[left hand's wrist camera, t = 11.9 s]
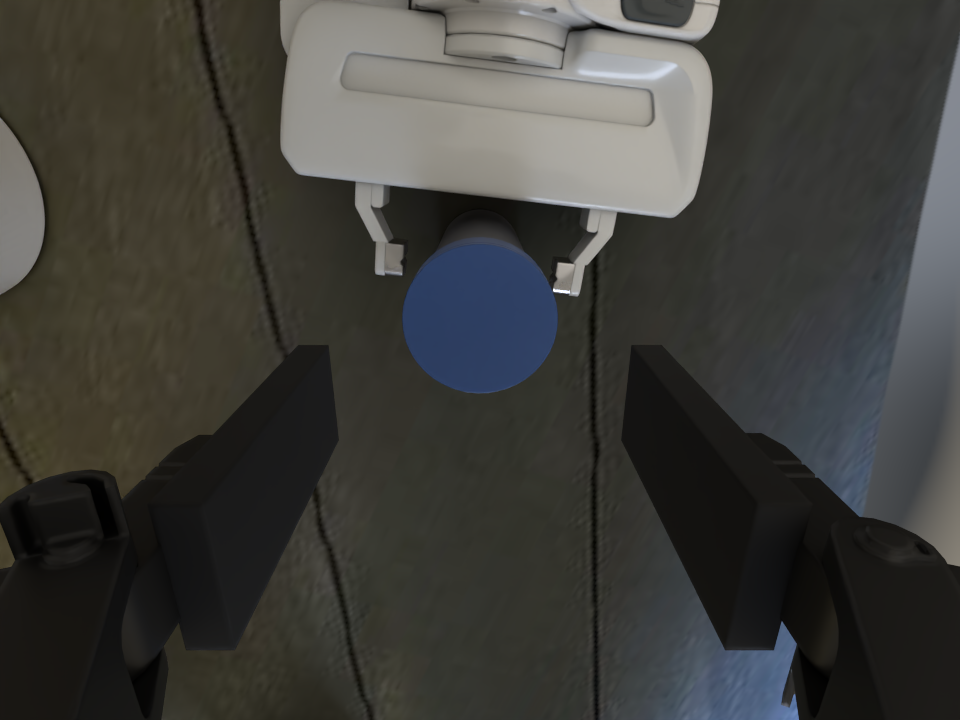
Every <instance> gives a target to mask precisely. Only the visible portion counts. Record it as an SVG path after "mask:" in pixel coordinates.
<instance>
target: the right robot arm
mask: <svg viewBox="0 0 960 720" xmlns="http://www.w3.org/2000/svg"><path fill="white" fill-rule="evenodd" d="M719 4H720V0H412V2H410V0H280V33H281V41H282V46H283V49H284V51H285V53H286V55H287V57H288V58H287V64H286V71H285V79H284V87H283V97H282V110H281V130H280V145H281V151H282V153H283V155H284V157H285V158H286V160H287V161H288V163H289V164H290V165H291V167H292V168H293V169H294V171H295V172H296V173H297V174H300V175H306V176H314V177H323V178H331V179H340V180H349V181H356V189H355V206H356V208H357V210H358V212H359V214H360V216H361V218H362V220H363V222H364V224H365V226H366V228H367V229H368V231H369V233H370V235H371V237H372V239H373V241H375V242H376V255H375V273H376V274H378V275H387V276H398V277H403V276H404V274H405V273H406V267H407V259H406V258H405V255H406V254H407V252H408V240H403V239H396V238H394V237H393V235H392V233H391V231H390V229H389V227H388V224H387V222H386V220H385V218H384V216H383V214H382V211H381V209H380V208H381V207H383V206H385V205H386V204H388V203H389V197H390V185H391V186H400V187H409V188H417V189H426V190H434V191H443V192H451V193H460V194H469V195H477V196H486V197H494V198H503V199H511V200H520V201H529V202H537V203H546V204H554V205H563V206H571V207H580V208H582V211H581V217H580V223H579V225H580V226H581V227H582V228H584V229H585V230H587V232H586V233H585V235H584V236H583V237H582V239H581V240H580V241H579V243H578V244H577V245H576V247H575V248H574V249H573V250H572V252H571V253H570V254H569V256H568V258H564V257H553V260H552V266H551V269H552V271H553V273H552V274H551V276H550V279H549V285H550V287H551V289H552V292H553V294H560V295H569V296H578V295H579V293H580V289H581V283H582V278H583V272H584V267H585V265H588V264H589V262H590V261H591V260H592V259H593V258H594V257H595V255H596V254H597V253H598V252H599V251H600V249H601V248H602V247H603V246H604V245H605V243H606V242H607V241H608V240H609V239H610V237H611V236H612V235H613V230H614V225H615V220H616V215H617V212H623V213H631V214H640V215H649V216H657V217H666V218H673V217H675V216H676V215H678V214H679V213H680V212H681V211H682V210H683V209H684V208H685V207H686V206H687V205H688V204H689V203H690V202H691V201H692V200H693V198H694V196H695V194H696V191H697V187H698V184H699V180H700V175H701V171H702V166H703V161H704V156H705V150H706V145H707V138H708V131H709V124H710V115H711V106H712V77H711V72H710V69H709V66H708V63H707V61H706V60H705V58H704V56H703V55H702V54H701V53H700V52H699V51H698V50H697V49H696V48H694V47H693V46H692V45H693V44H695V43H696V42H698V41H699V40H700V39H702V38H703V37H704V36H705V35H706V34H707V33H708V32H709V31H710V30H711V28H712V26H713V24H714V22H715V19H716V16H717V12H718V7H719ZM44 229H45V213H44V204H43V198H42V194H41V190H40V186H39V183H38V180H37V177H36V174H35V172H34V169H33V167H32V165H31V163H30V161H29V159H28V157H27V155H26V153H25V151H24V149H23V148H22V146H21V144H20V143H19V141H18V140H17V138H16V137H15V135H14V134H13V133H12V131H11V130H10V129H9V127H8V126H7V125H6V124H5V122H4V121H3V120H2V119H1V118H0V295H1V294H2V293H4V292H6V291H7V290H9V289H11V288H12V287H14V286H15V285H16V284H18V283H19V282H20V281H21V280H22V279H23V278H24V277H25V276H26V275H27V274H28V273H29V271H30V270H31V269H32V267H33V265H34V264H35V262H36V260H37V258H38V256H39V253H40V250H41V247H42V243H43V238H44Z"/></svg>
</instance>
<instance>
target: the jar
mask: <svg viewBox="0 0 960 720" xmlns="http://www.w3.org/2000/svg"><path fill="white" fill-rule="evenodd" d="M473 237H486V238H494V239H498V240H502V241H505V242H507V243H510V244H512V245H514V246H516V247H518V248H519V249H521V250H522V251H524V250H523V248H522V245H521V243H520V241H519V239H518V237H517V234H516V232H515V230H514V229H513V227H512V226H511V224H510V223H509V222H508V221H507V220H506V219H505V218H504V217H502V216H501V215H499V214H497V213H495V212H493V211H489V210H483V209H476V210H471V211H467V212H465V213H463V214H461V215H459V216H458V217H456V218H455V219H454V220H453V221H452V222H451V223H450V224H449V226H448V227H447V228H446V230H445V232H444V234H443V237H442V239H441V241H440V243H439V245H438V248H437V250H436V251H438V250H439V249H441V248H442V247H444V246H446V245H448V244H450V243H452V242H455V241H458V240H462V239H467V238H473Z"/></svg>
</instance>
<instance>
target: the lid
mask: <svg viewBox="0 0 960 720" xmlns="http://www.w3.org/2000/svg"><path fill="white" fill-rule="evenodd" d="M402 323H403V331H404V336H405V340H406V342H407V345H408V348H409V350H410V352H411V354H412V355H413V357H414V359H415V360H416V361H417V363H418V364H419V365H420V366H421V367H422V369H423V370H424V371H425V372H426V373H428V374H429V375H430V376H431V377H432V378H434V379H435V380H437V381H439V382H440V383H442V384H444V385H446V386H448V387H451V388H453V389H456V390H460V391H464V392H471V393H489V392H496V391H500V390H504V389H507V388H509V387H512V386H514V385H516V384H518V383H520V382H522V381H523V380H525V379H526V378H527V377H529V376H530V375H531V374H532V373H533V372H535V371H536V370H537V369H538V368H539V366H540V365H541V364H542V363H543V362H544V360H545V359H546V357H547V355H548V354H549V352H550V350H551V348H552V345H553V343H554V339H555V336H556V331H557V325H558V313H557V305H556V301H555V297H554V294H553V292H552V289H551V287H550V285H549V283H548V281H547V279H546V277H545V276H544V274H543V272H542V270H541V269H540V268H539V266H538V265H537V264H536V262H535V261H534V260H533V259H532V258H531V257H530V256H529V255H528V254H526V253H525V252H524V251H522V250H521V249H519V248H518V247H516V246H514V245H512V244H510V243H507V242H505V241H502V240H498V239H494V238H486V237H473V238H467V239H462V240H458V241H455V242H452V243H450V244H448V245H446V246H444V247H442V248H441V249H439V250H438V251H436V252H435V253H434V254H433V255H431V256H430V257H429V258H428V259H427V260H426V261H425V262H424V264H423V265H422V266H421V268H420V269H419V270H418V272H417V274H416V276H415V277H414V279H413V281H412V283H411V285H410V287H409V289H408V291H407V294H406V297H405V300H404V306H403V314H402Z"/></svg>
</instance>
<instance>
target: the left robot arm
mask: <svg viewBox="0 0 960 720" xmlns="http://www.w3.org/2000/svg"><path fill="white" fill-rule="evenodd" d="M338 440H339V438H338V429H337V420H336V411H335V401H334V392H333V383H332V374H331V365H330V355H329V346H328V345H298V346H297V347H296V348H295V349H294V350H293V351H292V352H291V354H290V355H289V356H288V357H287V358H286V359H285V360H284V361H283V362H282V363H281V364H280V365H279V366H278V367H277V368H276V369H275V370H274V371H273V372H272V373H271V375H270V376H269V377H268V378H267V379H266V380H265V381H264V382H263V383H262V384H261V385H260V386H259V387H258V388H257V389H256V390H255V391H254V392H253V393H252V394H251V396H250V397H249V398H248V399H247V400H246V401H245V402H244V403H243V404H242V405H241V406H240V407H239V408H238V409H237V410H236V411H235V412H234V413H233V414H232V415H231V417H230V418H229V419H228V420H227V421H226V422H225V423H224V424H223V425H222V426H221V427H220V428H219V429H218V430H217V431H216V432H215V433H214V434H213V435H198V436H196V437H194V438H193V439H191V440H189V441H187V442H185V443H184V444H182V445H180V446H178V447H176V448H175V449H174V450H173V451H172V452H171V453H169V454H168V455H167V456H166V457H165V458H164V459H163V460H162V461H161V462H160V463H159V467H155V468H154V469H153V470H152V471H151V472H150V473H149V474H148V475H147V476H146V479H145V480H141V481H140V482H139V483H138V484H137V485H136V486H135V487H134V488H133V489H132V490H131V491H130V492H129V493H128V494H127V495H126V496H125V497H124V498H123V499H122V500H121V497H120V493H119V490H118V486H117V483H116V479H115V477H114V476H112V475H111V474H109V473H108V472H106V471H98V470H82V471H72V472H67V473H63V474H59V475H55V476H51V477H48V478H45V479H43V480H40V481H38V482H35V483H33V484H30V485H28V486H26V487H24V488H22V489H20V490H19V491H17V492H15V493H14V494H12V495H10V496H8V497H7V498H6V499H5V500H4V501H3V502H2V503H1V504H0V523H1V525H2V528H3V530H4V533H5V535H6V538H7V540H8V543H9V545H10V548H11V551H12V553H13V556H14V558H15V562H14V563H13V565H12V567H8V568H3V569H0V720H161V717H162V710H163V703H164V696H165V689H166V683H167V676H168V663H167V656H166V653H165V649H164V645H165V643H166V641H167V640H168V638H169V637H170V635H171V634H172V632H173V631H174V629H175V628H176V626H177V624H178V623H179V625H180V629H181V633H182V636H183V640H184V644H185V647H186V650H235V649H236V647H237V645H238V643H239V641H240V639H241V637H242V635H243V633H244V630H245V628H246V626H247V624H248V622H249V620H250V618H251V616H252V614H253V612H254V610H255V608H256V606H257V604H258V602H259V600H260V598H261V596H262V594H263V592H264V590H265V588H266V586H267V584H268V582H269V580H270V578H271V576H272V574H273V572H274V570H275V568H276V566H277V564H278V562H279V560H280V558H281V556H282V554H283V552H284V550H285V548H286V546H287V544H288V542H289V540H290V538H291V535H292V533H293V531H294V529H295V527H296V525H297V523H298V521H299V519H300V517H301V515H302V513H303V511H304V509H305V507H306V505H307V503H308V501H309V499H310V497H311V495H312V493H313V491H314V489H315V487H316V485H317V483H318V481H319V479H320V477H321V475H322V473H323V471H324V469H325V467H326V465H327V463H328V461H329V459H330V457H331V455H332V453H333V451H334V449H335V447H336V445H337V443H338ZM621 441H622V443H623V445H624V447H625V449H626V451H627V453H628V455H629V457H630V459H631V461H632V463H633V465H634V467H635V469H636V471H637V473H638V475H639V477H640V479H641V481H642V483H643V485H644V487H645V489H646V491H647V493H648V495H649V497H650V499H651V501H652V503H653V505H654V507H655V509H656V511H657V513H658V515H659V517H660V519H661V521H662V523H663V525H664V527H665V529H666V531H667V533H668V535H669V538H670V540H671V542H672V544H673V546H674V548H675V550H676V552H677V554H678V556H679V558H680V560H681V562H682V564H683V566H684V568H685V570H686V572H687V574H688V576H689V578H690V580H691V582H692V584H693V586H694V588H695V590H696V592H697V594H698V596H699V598H700V600H701V602H702V604H703V606H704V608H705V610H706V612H707V614H708V616H709V618H710V620H711V622H712V624H713V626H714V628H715V630H716V633H717V635H718V637H719V639H720V641H721V643H722V645H723V647H724V649H725V650H774V647H775V644H776V640H777V636H778V633H779V629H780V625H781V621H782V622H783V623H784V625H785V626H786V628H787V629H788V631H789V632H790V634H791V635H792V637H793V639H794V640H795V642H796V643H797V646H796V649H795V653H794V656H793V660H792V663H791V667H790V670H789V674H788V677H787V681H786V684H785V688H784V691H783V697H782V703H781V705H783V706H786V707H789V708H790V704H791V701H792V698H793V695H794V694H795V695H796V702H797V709H798V715H799V720H960V567H959V566H954V565H950V564H947V562H946V561H945V559H944V558H943V557H942V556H941V554H940V553H939V552H938V551H937V550H936V549H935V548H934V546H932V545H931V544H929V543H928V542H926V541H925V540H923V539H922V538H920V537H919V536H918V535H916V534H914V533H912V532H910V531H908V530H905V529H903V528H901V527H899V526H897V525H894V524H891V523H887V522H884V521H881V520H877V519H874V518H865V517H859V516H858V515H857V514H856V513H855V512H854V511H853V510H852V509H851V508H849V507H848V506H847V505H846V504H845V503H844V502H843V501H842V500H841V499H840V498H839V497H838V496H837V495H836V494H835V493H834V492H833V491H832V490H831V489H830V488H829V487H827V486H826V485H825V484H824V483H823V482H822V481H821V480H820V479H819V478H815V474H814V473H813V472H812V471H811V470H810V469H809V468H808V467H807V466H806V465H802V464H801V461H800V460H799V459H798V458H797V457H796V456H795V455H794V454H793V453H792V452H791V451H790V450H789V449H788V448H787V447H786V446H784V445H782V444H780V443H778V442H777V441H775V440H773V439H771V438H769V437H767V436H766V435H764V434H762V433H745V432H744V431H743V430H742V429H741V428H740V427H739V426H738V425H737V424H736V423H735V422H734V421H733V420H732V419H731V418H730V417H729V415H728V414H727V413H726V412H725V411H724V410H723V409H722V408H721V407H720V406H719V405H718V404H717V403H716V402H715V401H714V400H713V399H712V398H711V397H710V396H709V394H708V393H707V392H706V391H705V390H704V389H703V388H702V387H701V386H700V385H699V384H698V383H697V382H696V381H695V380H694V379H693V378H692V377H691V376H690V375H689V373H688V372H687V371H686V370H685V369H684V368H683V367H682V366H681V365H680V364H679V363H678V362H677V361H676V360H675V359H674V358H673V357H672V356H671V355H670V354H669V352H668V351H667V350H666V349H665V348H664V347H663V346H662V345H632V346H631V355H630V365H629V374H628V383H627V392H626V401H625V411H624V420H623V429H622V438H621Z"/></svg>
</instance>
